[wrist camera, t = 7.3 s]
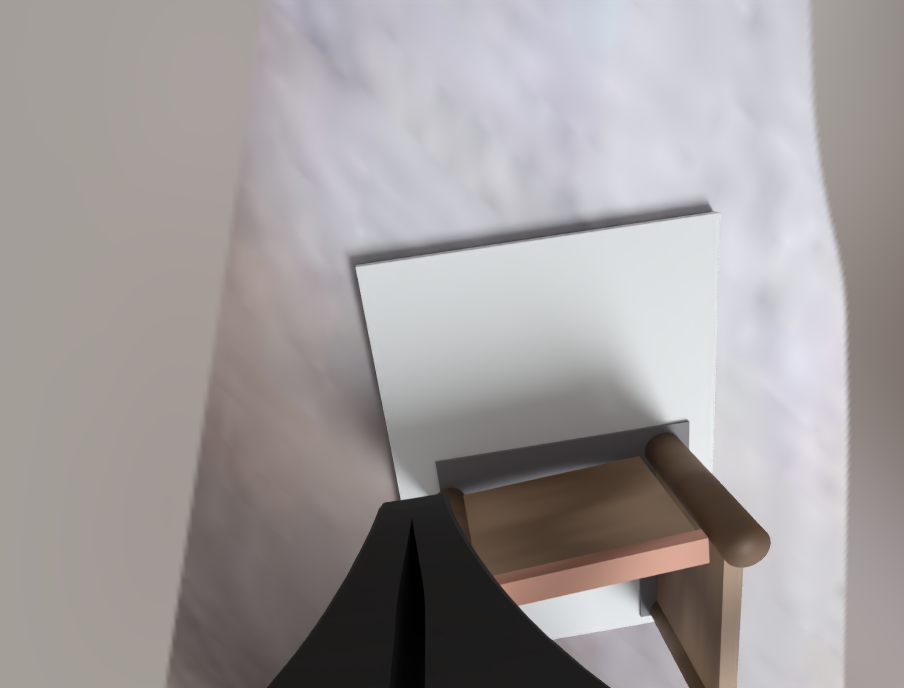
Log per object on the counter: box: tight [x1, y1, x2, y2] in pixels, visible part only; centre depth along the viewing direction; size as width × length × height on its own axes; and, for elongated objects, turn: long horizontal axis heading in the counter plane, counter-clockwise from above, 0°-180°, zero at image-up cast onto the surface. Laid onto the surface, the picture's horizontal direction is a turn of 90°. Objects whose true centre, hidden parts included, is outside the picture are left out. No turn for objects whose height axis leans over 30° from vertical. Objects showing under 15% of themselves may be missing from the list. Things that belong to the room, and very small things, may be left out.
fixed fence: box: [645, 433, 771, 688], centre depth 20 cm, size 9×1×6 cm, turn 8°
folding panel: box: [438, 456, 710, 606], centre depth 19 cm, size 8×1×5 cm, turn 101°
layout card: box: [356, 211, 720, 639], centre depth 21 cm, size 17×12×1 cm
